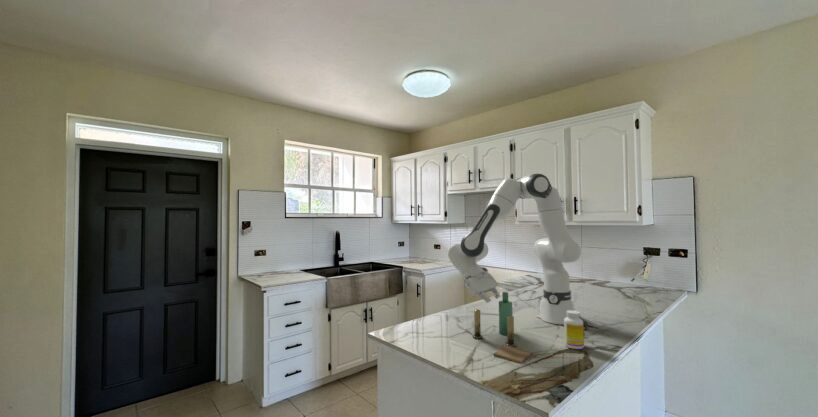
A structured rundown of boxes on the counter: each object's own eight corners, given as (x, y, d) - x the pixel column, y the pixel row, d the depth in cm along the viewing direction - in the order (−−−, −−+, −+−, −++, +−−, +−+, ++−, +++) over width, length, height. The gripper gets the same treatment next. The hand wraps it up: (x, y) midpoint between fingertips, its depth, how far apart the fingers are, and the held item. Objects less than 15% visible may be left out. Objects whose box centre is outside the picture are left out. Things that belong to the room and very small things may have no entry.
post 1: (475, 335, 138) (475, 308, 138) (484, 337, 135) (483, 309, 136) (470, 337, 135) (470, 310, 135) (479, 339, 132) (479, 312, 132)
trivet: (505, 347, 124) (505, 345, 124) (532, 353, 118) (531, 351, 118) (493, 355, 117) (493, 353, 117) (521, 363, 110) (521, 360, 110)
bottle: (502, 330, 144) (501, 290, 144) (515, 332, 140) (514, 292, 141) (496, 333, 139) (496, 292, 140) (509, 336, 136) (509, 294, 136)
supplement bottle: (587, 349, 121) (586, 314, 122) (569, 349, 122) (568, 314, 122) (578, 343, 128) (577, 309, 129) (561, 343, 128) (560, 309, 129)
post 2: (507, 342, 129) (507, 314, 129) (518, 345, 126) (517, 316, 127) (503, 345, 126) (503, 316, 126) (514, 348, 123) (513, 318, 124)
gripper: (466, 273, 141) (488, 299, 134) (488, 267, 157) (508, 291, 150) (457, 282, 143) (478, 309, 137) (479, 276, 159) (499, 299, 153)
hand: (494, 299), depth 144 cm, fingers open, 8 cm apart
